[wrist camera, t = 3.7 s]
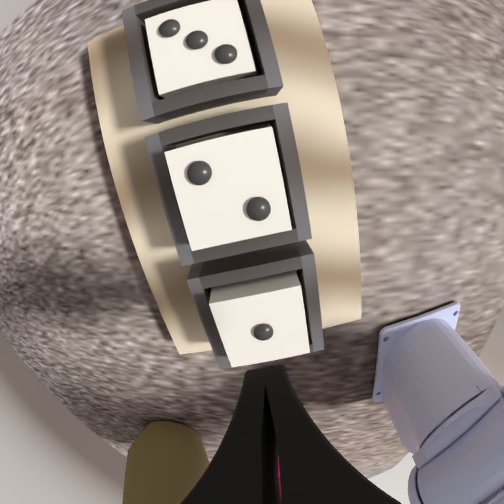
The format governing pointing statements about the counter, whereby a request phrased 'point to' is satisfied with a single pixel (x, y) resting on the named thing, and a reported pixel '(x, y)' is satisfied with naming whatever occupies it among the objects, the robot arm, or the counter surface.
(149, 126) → the tile board
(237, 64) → the tile three
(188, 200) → the tile two
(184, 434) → the squeeze bottle
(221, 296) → the tile one
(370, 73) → the counter surface
